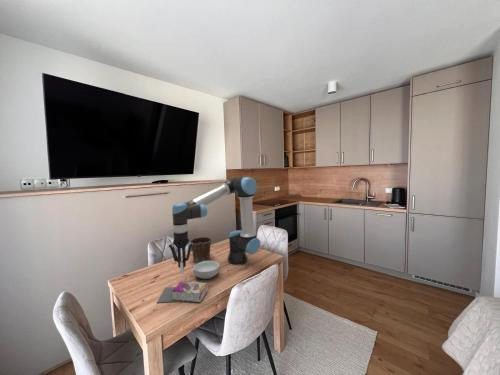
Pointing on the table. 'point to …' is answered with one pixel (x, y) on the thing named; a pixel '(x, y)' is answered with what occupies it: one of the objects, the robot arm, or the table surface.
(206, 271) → the cereal bowl
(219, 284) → the table surface
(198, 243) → the plant pot
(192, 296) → the candy bar box
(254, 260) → the table surface
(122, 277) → the table surface
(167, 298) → the mat
